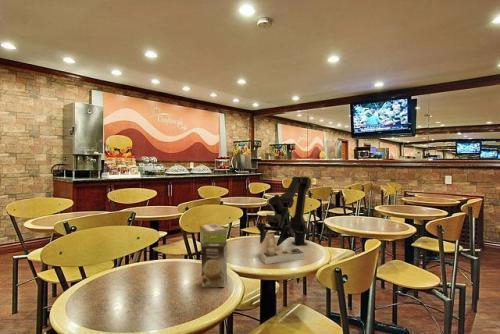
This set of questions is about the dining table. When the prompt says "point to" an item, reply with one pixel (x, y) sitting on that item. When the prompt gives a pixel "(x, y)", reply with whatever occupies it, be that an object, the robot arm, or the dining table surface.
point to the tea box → (212, 234)
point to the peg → (270, 244)
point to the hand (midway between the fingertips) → (268, 244)
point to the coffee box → (214, 264)
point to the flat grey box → (283, 256)
